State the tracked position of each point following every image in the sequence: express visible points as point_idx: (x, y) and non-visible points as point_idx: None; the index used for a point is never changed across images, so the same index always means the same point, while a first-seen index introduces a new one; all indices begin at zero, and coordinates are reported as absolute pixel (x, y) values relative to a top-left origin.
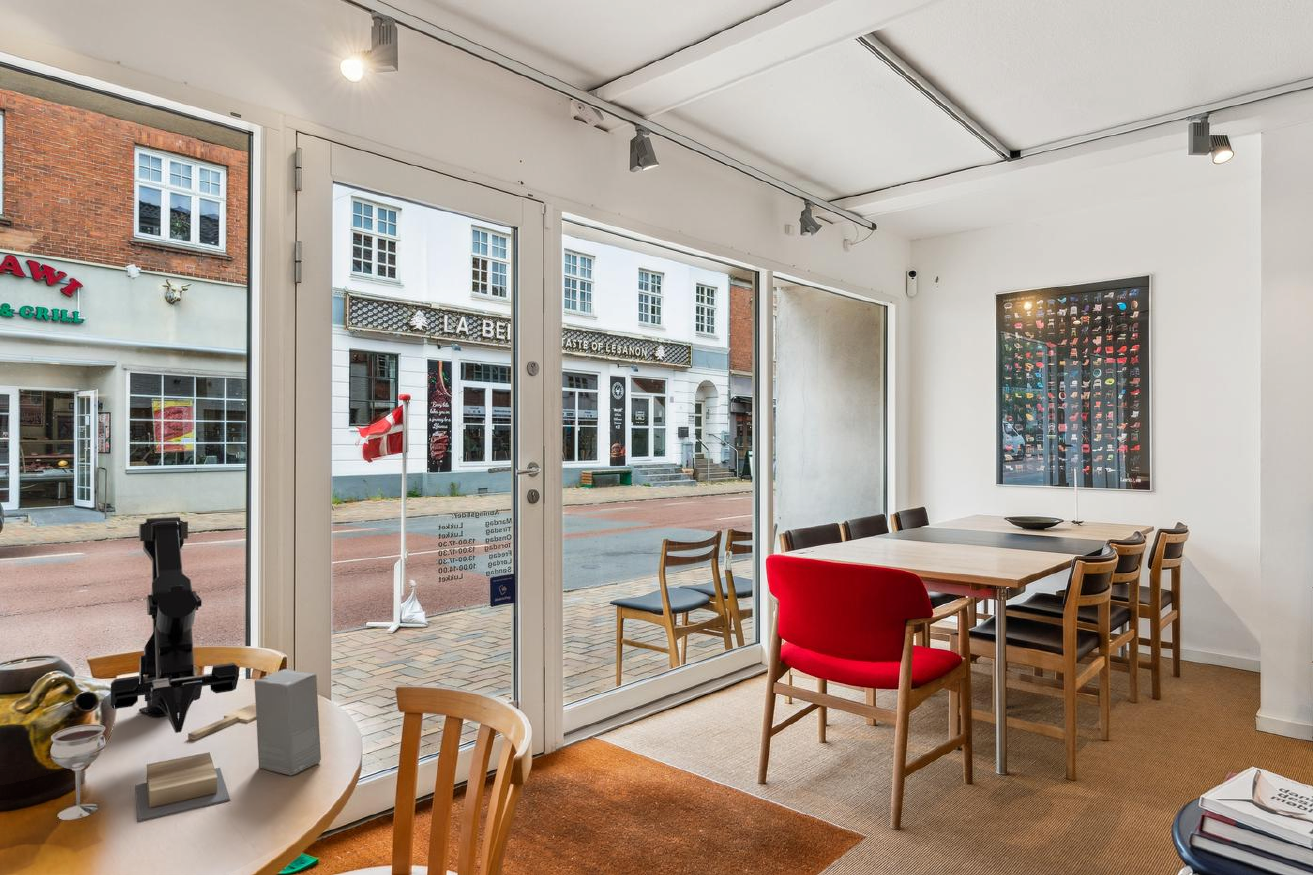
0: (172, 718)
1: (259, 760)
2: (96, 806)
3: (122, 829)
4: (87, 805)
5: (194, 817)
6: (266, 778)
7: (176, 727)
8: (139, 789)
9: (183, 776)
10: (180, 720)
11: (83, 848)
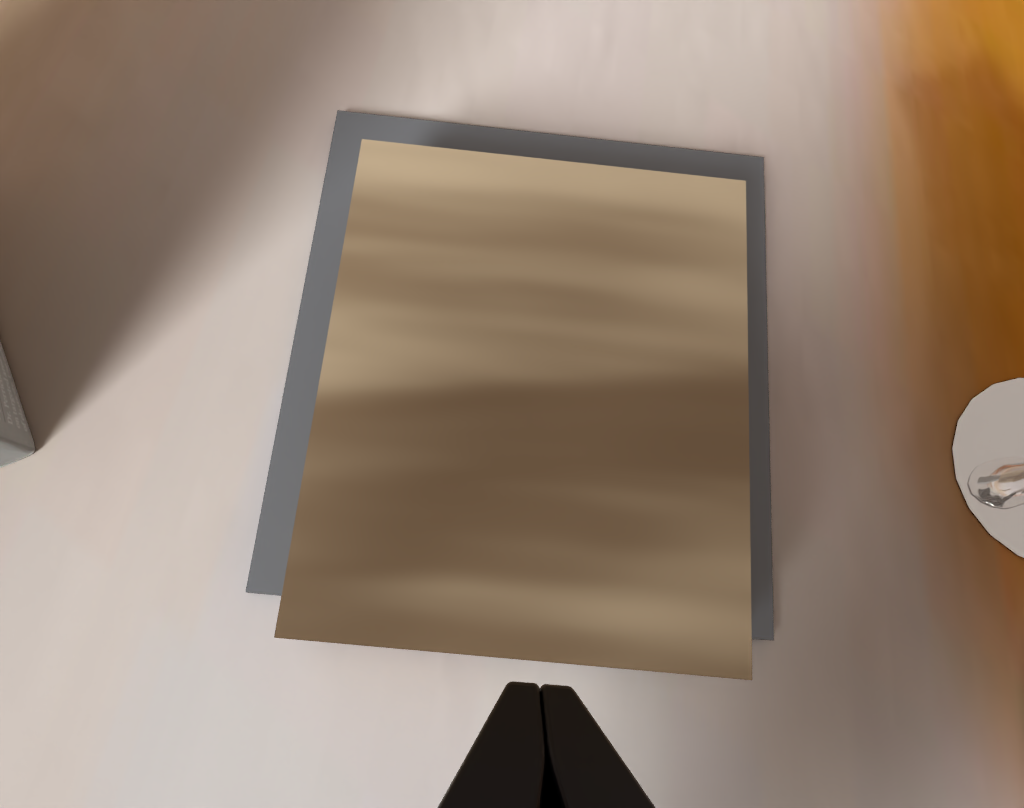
0: (638, 795)
1: (2, 426)
2: (964, 469)
3: (823, 133)
4: (1019, 472)
5: (525, 55)
6: (74, 263)
7: (568, 702)
8: (751, 545)
9: (541, 273)
10: (520, 753)
11: (963, 64)
